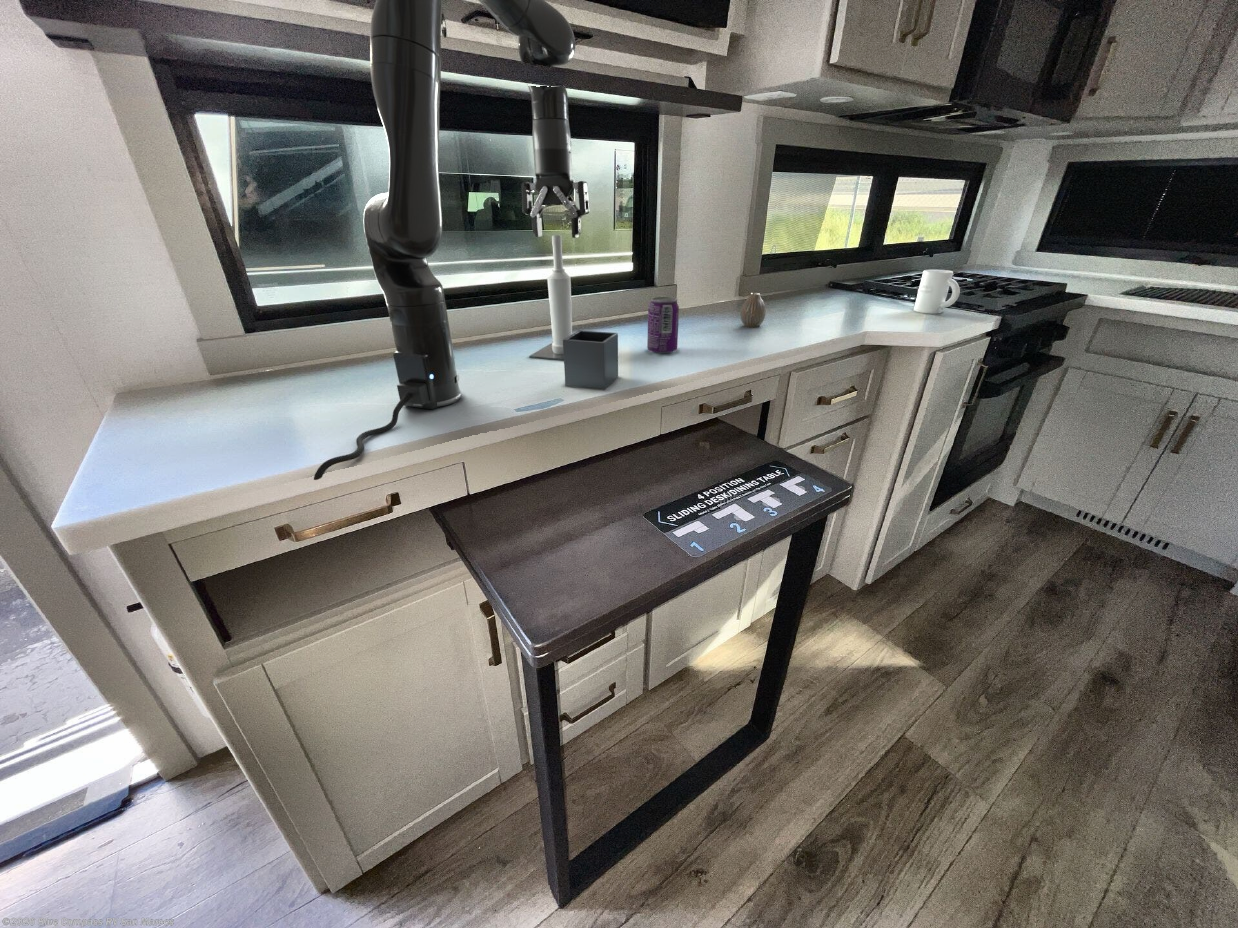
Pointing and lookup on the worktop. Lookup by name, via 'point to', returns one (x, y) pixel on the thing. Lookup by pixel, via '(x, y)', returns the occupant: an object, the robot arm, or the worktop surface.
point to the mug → (936, 291)
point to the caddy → (591, 359)
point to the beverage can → (663, 325)
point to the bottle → (559, 298)
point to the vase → (753, 311)
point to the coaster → (547, 354)
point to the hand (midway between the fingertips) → (557, 237)
